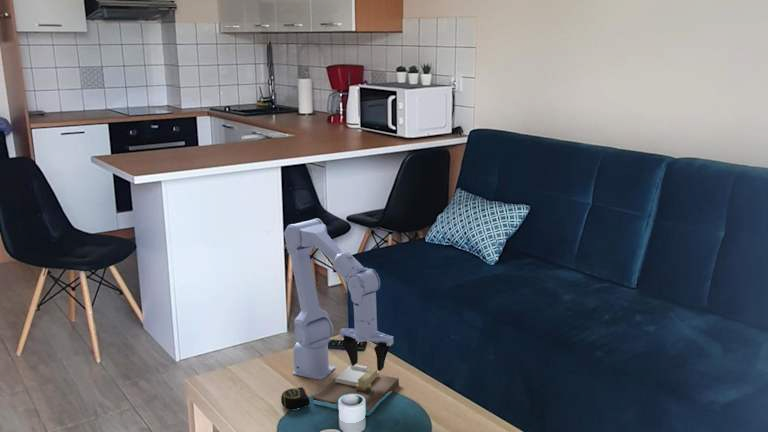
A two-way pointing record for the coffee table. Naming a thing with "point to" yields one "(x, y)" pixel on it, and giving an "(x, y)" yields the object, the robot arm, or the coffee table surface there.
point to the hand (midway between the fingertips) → (367, 366)
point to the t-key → (366, 380)
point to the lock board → (377, 390)
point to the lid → (352, 374)
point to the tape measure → (294, 398)
